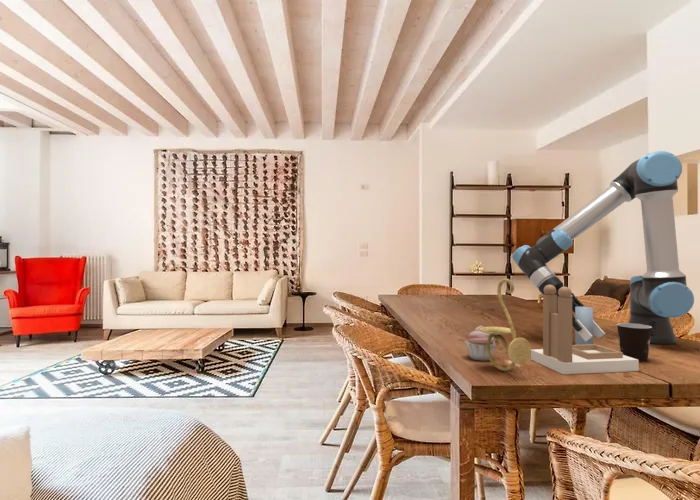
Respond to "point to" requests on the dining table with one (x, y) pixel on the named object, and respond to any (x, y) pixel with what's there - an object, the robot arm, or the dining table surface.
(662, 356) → the dining table surface
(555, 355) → the peg insertion fixture
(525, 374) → the dining table surface
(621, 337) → the coffee mug
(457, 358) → the dining table surface
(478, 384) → the dining table surface
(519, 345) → the wall sconce
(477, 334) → the cupcake
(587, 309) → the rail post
